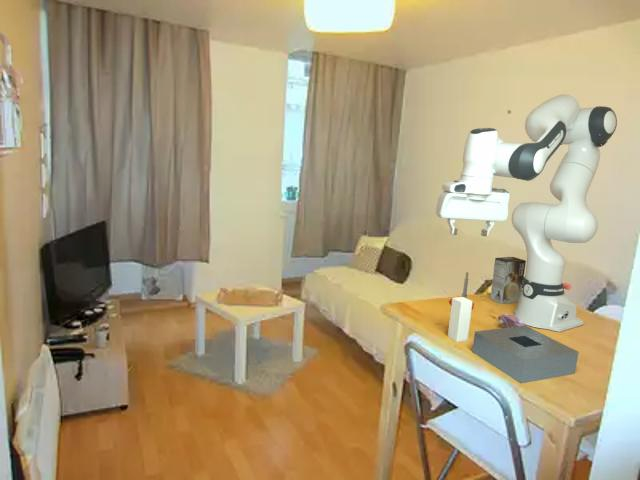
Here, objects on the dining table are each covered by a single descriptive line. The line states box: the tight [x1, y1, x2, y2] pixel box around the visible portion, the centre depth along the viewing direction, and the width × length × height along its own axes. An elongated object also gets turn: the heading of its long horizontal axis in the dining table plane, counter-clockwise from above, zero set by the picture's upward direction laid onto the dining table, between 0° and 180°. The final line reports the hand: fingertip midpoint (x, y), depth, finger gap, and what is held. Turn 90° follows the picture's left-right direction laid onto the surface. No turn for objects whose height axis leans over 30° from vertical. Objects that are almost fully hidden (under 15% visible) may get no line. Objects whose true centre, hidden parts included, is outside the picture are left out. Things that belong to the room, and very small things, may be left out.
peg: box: [447, 296, 474, 343], centre depth 141 cm, size 4×4×12 cm
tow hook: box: [448, 272, 475, 310], centre depth 172 cm, size 8×13×9 cm
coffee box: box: [489, 256, 527, 305], centre depth 179 cm, size 9×6×16 cm
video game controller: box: [497, 312, 527, 328], centre depth 148 cm, size 10×5×7 cm, turn 23°
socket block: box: [471, 325, 580, 384], centre depth 128 cm, size 18×18×6 cm
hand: (468, 235), depth 138 cm, fingers open, 8 cm apart
